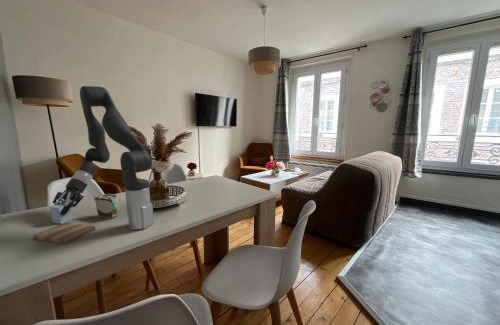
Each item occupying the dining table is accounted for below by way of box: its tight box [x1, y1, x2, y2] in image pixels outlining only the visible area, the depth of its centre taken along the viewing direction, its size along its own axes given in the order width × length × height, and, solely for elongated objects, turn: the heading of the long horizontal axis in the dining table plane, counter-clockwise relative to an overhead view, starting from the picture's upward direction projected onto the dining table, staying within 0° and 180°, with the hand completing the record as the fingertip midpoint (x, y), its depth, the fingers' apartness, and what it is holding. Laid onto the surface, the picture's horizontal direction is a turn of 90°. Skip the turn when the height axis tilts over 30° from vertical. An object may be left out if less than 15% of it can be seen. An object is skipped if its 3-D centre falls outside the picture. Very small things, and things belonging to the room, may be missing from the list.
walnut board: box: [33, 221, 96, 245], centre depth 90 cm, size 16×12×2 cm
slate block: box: [50, 202, 73, 225], centre depth 101 cm, size 5×5×8 cm
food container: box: [93, 193, 119, 220], centre depth 108 cm, size 12×6×10 cm, turn 71°
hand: (57, 213), depth 99 cm, fingers closed on slate block, 5 cm apart
